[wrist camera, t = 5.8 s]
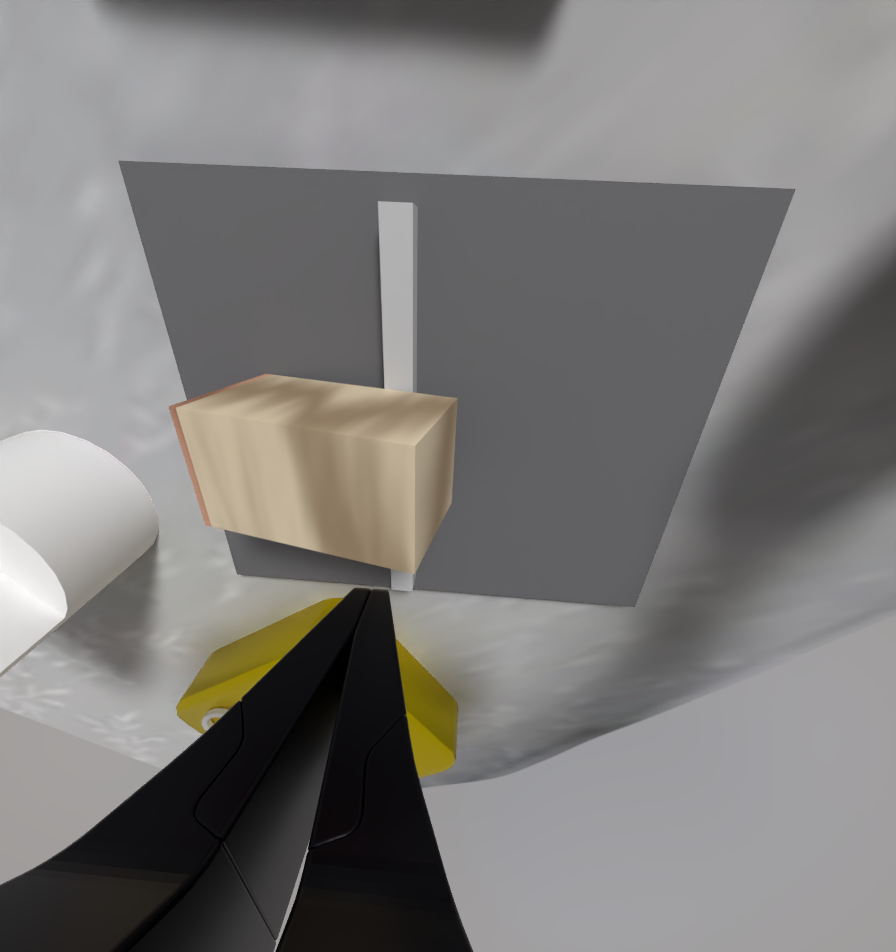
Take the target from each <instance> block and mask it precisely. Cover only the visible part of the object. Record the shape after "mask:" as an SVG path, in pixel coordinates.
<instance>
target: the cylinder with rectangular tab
mask: <svg viewBox="0 0 896 952" xmlns="http://www.w3.org/2000/svg"><path fill="white" fill-rule="evenodd" d="M158 533H159V531H158V515H157V512H156V509H155V506H154V502H153V500H152V499H151V497H150V495H149V494H148V492H147V491H146V489H145V487H144V486H143V484H142V483H141V482H140V481H139V480H138V479H137V477H136V476H135V475H134V474H133V473H132V472H131V471H130V470H129V469H128V468H127V467H126V466H125V465H124V464H122V463H121V462H120V461H119V460H117V459H116V458H115V457H113V456H112V455H111V454H110V453H108V452H107V451H105V450H103V449H101V448H99V447H98V446H96V445H94V444H92V443H90V442H88V441H86V440H84V439H81V438H78V437H75V436H72V435H69V434H66V433H63V432H56V431H48V430H36V431H29V432H23V433H20V434H17V435H15V436H12V437H9V438H6V439H4V440H1V441H0V677H1V676H3V675H4V674H5V673H6V672H7V671H8V670H10V669H11V668H12V667H13V666H14V665H15V664H17V663H18V662H19V661H20V660H21V659H22V658H23V657H25V656H26V655H27V654H28V653H29V652H30V651H32V650H33V649H34V648H35V647H36V646H37V645H39V644H40V643H41V642H42V641H43V640H44V639H45V638H47V637H48V636H49V635H50V634H51V633H52V632H54V631H55V630H56V629H57V628H58V627H59V626H61V625H62V624H63V623H64V622H65V621H66V620H68V619H69V618H70V617H71V616H72V615H73V614H74V613H76V612H77V611H78V610H79V609H80V608H81V607H83V606H84V605H85V604H86V603H87V602H88V601H90V600H91V599H92V598H93V597H94V596H95V595H96V594H98V593H99V592H100V591H101V590H102V589H103V588H105V587H106V586H107V585H108V584H109V583H110V582H112V581H113V580H114V579H115V578H116V577H117V576H118V575H120V574H121V573H122V572H123V571H124V570H125V569H127V568H128V567H129V566H130V565H131V564H132V563H134V562H135V561H136V560H137V559H138V558H139V557H141V556H142V555H143V554H144V553H145V552H146V551H147V550H148V549H149V548H150V547H151V546H153V545H154V542H155V540H156V537H157V535H158Z"/></svg>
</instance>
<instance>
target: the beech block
mask: <svg viewBox="0 0 896 952" xmlns="http://www.w3.org/2000/svg"><path fill="white" fill-rule="evenodd" d="M457 400H458V398H452V397H444V396H436V395H429V394H421V393H413V392H405V391H397V390H389V389H382V388H374V387H366V386H358V385H350V384H343V383H335V382H327V381H319V380H311V379H303V378H296V377H288V376H280V375H272V374H264V375H261V376H258V377H255V378H252V379H249V380H246V381H243V382H240V383H237V384H234V385H231V386H228V387H225V388H222V389H219V390H216V391H213V392H210V393H207V394H204V395H201V396H198V397H196V398H193V399H190V400H187V401H184V402H181V403H178V404H175V405H172V406H169V410H170V413H171V416H172V419H173V422H174V426H175V429H176V432H177V435H178V438H179V442H180V445H181V448H182V451H183V454H184V458H185V461H186V464H187V467H188V470H189V474H190V477H191V480H192V483H193V486H194V489H195V493H196V496H197V499H198V502H199V505H200V509H201V512H202V515H203V518H204V521H205V525H207V526H212V527H216V528H220V529H224V530H229V531H233V532H237V533H241V534H245V535H250V536H254V537H258V538H262V539H267V540H271V541H275V542H279V543H284V544H288V545H292V546H296V547H301V548H305V549H309V550H313V551H317V552H322V553H326V554H330V555H334V556H339V557H343V558H347V559H351V560H356V561H360V562H364V563H368V564H373V565H377V566H381V567H385V568H390V569H394V570H398V571H402V572H406V573H411V574H415V573H416V571H417V569H418V567H419V565H420V563H421V561H422V559H423V557H424V555H425V553H426V551H427V549H428V547H429V546H430V544H431V542H432V540H433V538H434V536H435V534H436V532H437V530H438V528H439V526H440V524H441V522H442V520H443V518H444V516H445V514H446V513H447V511H448V509H449V507H450V505H451V503H452V487H453V469H454V452H455V434H456V417H457Z"/></svg>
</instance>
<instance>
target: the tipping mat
mask: <svg viewBox="0 0 896 952" xmlns="http://www.w3.org/2000/svg"><path fill="white" fill-rule="evenodd" d="M119 164H120V168H121V171H122V175H123V178H124V182H125V185H126V189H127V192H128V196H129V199H130V203H131V206H132V210H133V213H134V217H135V220H136V224H137V227H138V231H139V234H140V238H141V241H142V245H143V248H144V251H145V255H146V258H147V262H148V265H149V269H150V272H151V276H152V279H153V283H154V286H155V290H156V293H157V297H158V300H159V304H160V307H161V311H162V314H163V318H164V321H165V325H166V328H167V332H168V335H169V339H170V342H171V346H172V349H173V353H174V356H175V359H176V363H177V366H178V370H179V373H180V377H181V380H182V384H183V387H184V391H185V394H186V398H187V400H190V399H193V398H196V397H198V396H201V395H204V394H207V393H210V392H213V391H216V390H219V389H222V388H225V387H228V386H231V385H234V384H237V383H240V382H243V381H246V380H249V379H252V378H255V377H258V376H261V375H264V374H272V375H280V376H288V377H296V378H303V379H311V380H319V381H327V382H335V383H343V384H350V385H358V386H366V387H374V388H382V389H389V390H397V391H405V392H413V393H421V394H429V395H436V396H444V397H452V398H458V400H457V417H456V434H455V452H454V469H453V487H452V503H451V505H450V507H449V509H448V511H447V513H446V514H445V516H444V518H443V520H442V522H441V524H440V526H439V528H438V530H437V532H436V534H435V536H434V538H433V540H432V542H431V544H430V546H429V547H428V549H427V551H426V553H425V555H424V557H423V559H422V561H421V563H420V565H419V567H418V569H417V571H416V573H415V574H411V573H406V572H402V571H398V570H394V569H390V568H385V567H381V566H377V565H373V564H368V563H364V562H360V561H356V560H351V559H347V558H343V557H339V556H334V555H330V554H326V553H322V552H317V551H313V550H309V549H305V548H301V547H296V546H292V545H288V544H284V543H279V542H275V541H271V540H267V539H262V538H258V537H254V536H250V535H245V534H241V533H237V532H233V531H229V530H225V534H226V537H227V541H228V544H229V548H230V551H231V555H232V558H233V562H234V565H235V569H236V572H237V574H240V575H252V576H264V577H276V578H288V579H301V580H313V581H325V582H337V583H349V584H362V585H374V586H386V587H391V589H392V590H401V591H413V589H423V590H435V591H447V592H459V593H471V594H484V595H496V596H508V597H520V598H532V599H545V600H557V601H569V602H581V603H593V604H606V605H618V606H630V607H635V605H636V602H637V600H638V597H639V594H640V592H641V589H642V587H643V584H644V581H645V579H646V576H647V574H648V571H649V568H650V566H651V563H652V561H653V558H654V555H655V553H656V550H657V548H658V545H659V542H660V540H661V537H662V535H663V532H664V529H665V527H666V524H667V522H668V519H669V516H670V514H671V511H672V509H673V506H674V503H675V501H676V498H677V496H678V493H679V490H680V488H681V485H682V483H683V480H684V477H685V475H686V472H687V470H688V467H689V464H690V462H691V459H692V457H693V454H694V451H695V449H696V446H697V444H698V441H699V438H700V436H701V433H702V431H703V428H704V426H705V423H706V420H707V418H708V415H709V413H710V410H711V407H712V405H713V402H714V400H715V397H716V394H717V392H718V389H719V387H720V384H721V381H722V379H723V376H724V374H725V371H726V368H727V366H728V363H729V361H730V358H731V355H732V353H733V350H734V348H735V345H736V342H737V340H738V337H739V335H740V332H741V329H742V327H743V324H744V322H745V319H746V316H747V314H748V311H749V309H750V306H751V303H752V301H753V298H754V296H755V293H756V290H757V288H758V285H759V283H760V280H761V277H762V275H763V272H764V270H765V267H766V264H767V262H768V259H769V257H770V254H771V251H772V249H773V246H774V244H775V241H776V239H777V236H778V233H779V231H780V228H781V226H782V223H783V220H784V218H785V215H786V213H787V210H788V207H789V205H790V202H791V200H792V197H793V194H794V192H795V189H780V188H756V187H732V186H708V185H684V184H661V183H637V182H613V181H589V180H565V179H541V178H517V177H493V176H469V175H445V174H421V173H397V172H373V171H350V170H326V169H302V168H278V167H254V166H230V165H206V164H182V163H158V162H134V161H119Z"/></svg>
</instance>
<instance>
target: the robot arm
mask: <svg viewBox="0 0 896 952" xmlns="http://www.w3.org/2000/svg"><path fill="white" fill-rule="evenodd" d="M310 836H311V837H310ZM309 840H310V842H309ZM308 843H309V847H308V851H309V852H308V853H307V856H306V861H305V865H304V869H303V873H302V877H301V881H300V885H299V888H298V892H297V895H296V899H295V901H294V904H293V907H292V910H291V912H290V915H289V918H288V920H287V923H286V926H285V929H284V931H283V934H282V936H281V939H280V942H279V944H278V947H277V949H276V952H473V950H472V947H471V945H470V942H469V940H468V937H467V935H466V933H465V930H464V927H463V925H462V922H461V919H460V916H459V913H458V911H457V908H456V905H455V902H454V899H453V896H452V893H451V890H450V887H449V884H448V880H447V877H446V873H445V870H444V866H443V863H442V859H441V856H440V852H439V849H438V845H437V842H436V838H435V835H434V831H433V828H432V824H431V821H430V817H429V814H428V810H427V807H426V803H425V799H424V796H423V792H422V788H421V784H420V781H419V777H418V773H417V769H416V765H415V760H414V755H413V749H412V744H411V738H410V732H409V725H408V718H407V713H406V706H405V699H404V692H403V686H402V679H401V672H400V665H399V658H398V651H397V645H396V638H395V631H394V624H393V617H392V611H391V604H390V597H389V592H388V591H387V590H381V589H373V590H372V591H371V590H370V589H368V588H354V589H353V590H352V591H350V592H349V593H348V594H347V595H346V596H345V597H344V598H343V599H342V600H341V601H340V602H339V603H338V604H337V605H336V606H335V607H334V608H333V609H332V610H331V611H330V612H329V613H328V614H327V615H326V616H325V617H324V618H323V619H322V620H321V621H320V622H319V623H318V624H317V625H316V626H315V627H314V628H313V629H311V630H310V631H309V632H308V633H307V634H306V635H305V636H304V637H303V638H302V639H301V640H300V641H299V642H298V643H297V644H296V645H295V646H294V647H293V648H292V649H291V650H290V651H289V652H288V653H287V654H286V655H285V656H284V657H283V658H282V659H281V660H280V661H279V662H278V663H277V664H276V665H275V666H274V667H272V668H271V669H270V670H269V671H268V672H267V673H266V674H265V675H264V676H263V677H262V678H261V679H260V680H259V681H258V682H257V683H256V684H255V685H254V686H253V687H252V688H251V689H250V690H249V691H248V692H247V693H246V694H245V695H244V696H243V697H242V698H241V701H237V702H236V703H235V704H234V705H233V706H232V707H231V708H230V709H229V710H228V711H227V712H226V713H225V714H224V715H223V716H222V717H221V718H220V719H219V720H218V721H217V722H216V723H214V724H213V725H212V726H211V727H210V728H209V729H208V730H207V731H206V732H205V733H204V734H203V735H202V736H201V737H199V738H198V739H197V740H196V741H195V742H194V743H193V744H192V745H190V746H189V747H188V748H187V749H186V750H185V751H183V752H182V753H181V754H180V755H179V756H178V757H176V758H175V759H174V760H173V761H172V762H171V763H170V764H168V765H167V766H166V767H165V768H164V769H162V770H161V771H160V772H159V773H158V774H157V775H155V776H154V777H153V778H152V779H151V780H149V781H148V782H147V783H146V784H144V785H143V786H142V787H141V788H140V789H138V790H137V791H136V792H135V793H134V794H133V795H131V796H130V797H129V798H128V799H126V800H125V801H124V802H123V803H122V804H120V805H119V806H118V807H117V808H116V809H115V810H113V811H112V812H111V813H110V814H109V815H107V816H106V817H105V818H104V819H102V820H101V821H100V822H99V823H98V824H96V825H95V826H94V827H93V828H92V829H90V830H89V831H88V832H87V833H85V834H84V835H83V836H82V837H80V838H79V839H78V840H76V841H75V842H73V843H72V844H71V845H70V846H68V847H67V848H65V849H64V850H62V851H61V852H59V853H58V854H56V855H55V856H53V857H52V858H50V859H48V860H47V861H45V862H43V863H42V864H40V865H39V866H37V867H35V868H33V869H31V870H29V871H28V872H25V873H24V874H22V875H20V876H17V877H15V878H13V879H11V880H9V881H7V882H5V883H3V884H1V885H0V952H273V951H274V948H275V945H276V942H275V940H276V939H277V938H278V935H279V932H280V929H281V926H282V923H283V920H284V917H285V913H286V911H287V907H288V904H289V901H290V898H291V895H292V892H293V889H294V886H295V882H296V879H297V877H298V873H299V870H300V867H301V864H302V861H303V858H304V855H305V852H306V849H307V846H308Z"/></svg>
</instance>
